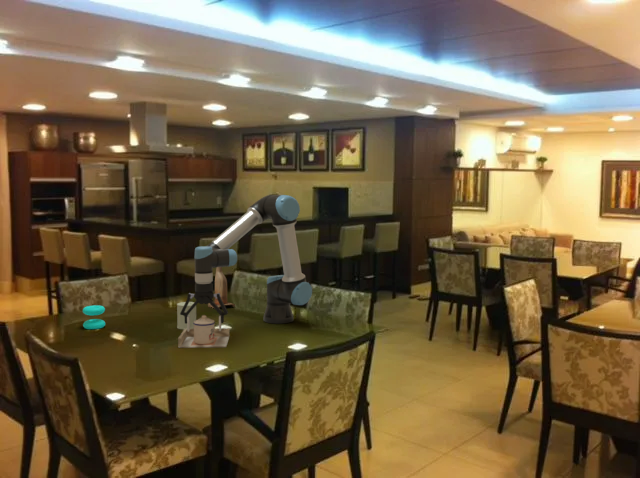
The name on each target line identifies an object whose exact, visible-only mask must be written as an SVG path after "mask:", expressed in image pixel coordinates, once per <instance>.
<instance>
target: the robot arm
mask: <svg viewBox="0 0 640 478" xmlns="http://www.w3.org/2000/svg"><path fill="white" fill-rule="evenodd" d="M300 212H301V209H300V203H299V202H298V200H297V199H296V198H295V197H293V196H291V195H287V194H268V195H265V196H262V197H261V198H259V199H257V201H255V202H254V203H253V204H251V205H250V206H249V207H248V208H247V211H246V212H245V213H244V214H243V215H242V216H240V217H239V218H238V219H237V220H236V221H235V222H233V223H232V224H231V225H230V226H229V227H228V228H226V229H225V230H224V231H223V232H222V233H221V234H219V235H218V236H217V237H216V238H214V239H213V240H212V241H211V242H209V244H207V245H205V246H202V245H201V246H197V247H195V249H194V258H193V259H194V282H195V283H194V293H191V292H189V293H188V294H187V297H186V298H187V299H186V301H185V302H186V303H185V305H184V307H183V309H182V311H181V313H180V315H183V316H184V317H185V324H187V332H189V331H190V315H188V314H189V313H190V312H191V311H192V309H193V308H194V307H195V306H196V307H197V305H198V304H200V305H208V304H209V303H210V304H211V305H212V306H213V307H214V310H215V311H216V312H217V313H218V328H219V331H221V328H222V324H223V323H224V322H225V316H226V315H228V313H229V312H228V309H227V307H226V305H224V303H223V301H222V299H221V297H220V293H218V294H215V293H214V291H213V290H214V287H213V285H214V284H213V281H214V280H213V279H214V277H213V276H214V275H213V268H214V269H215V268H216V269H217V267H222V268H227V267H232V266H235V265H236V264H237V262H238V255H237V252H236V251H235V250H234V249H233V248H231V247H232V246H234V245H235V244H236V243H237V242H238V241H239V240H241V238H243V237H244V236H245V235H246V234H247V233H249V232H250V231H251V230H252V229H253V228H254V227H256V226H257V225H260V224H261V225H262V223H263V222H265V221H267V220H269V219H270V220H271V221H272V223H271V224H272V226H273V227H275V229H276V233H277V239H278V244H279V252H280V258H281V259H280V260H281V263H282V269H283V274H280V275H279V274H278V275H270V276H268V277H267V280H266V307H265V311H264V314H263V322H265V323H268V324H288V323H292V322H294V314H293V310H292V308H291V305H294V306H304V305H306V304H307V303H308V302H309V301H310V299H311V297H312V294H313V287H312V285H311V284H310V283H309V281H308V282H307V279H306V275H305V274H304V273H302V266H301V260H300V253H299V247H298V241H297V236H296V235H297V234H296V228H295V225H296V224H297V221H298V220H297V218H298V217H299V214H300ZM230 248H231V249H230ZM193 298H194V301H195V303H194V304H193V305H192V306H191V307H190V308H189V310H188V311H187V312H185V310H186V308H187V306H188V303H189V302H191V299H193ZM215 298H216V299H218V302H219V304H220V307H218V306H217V305H216V304H215V303H214V302H215V300H213V299H215Z"/></svg>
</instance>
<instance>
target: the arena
mask: <svg viewBox="0 0 640 478" xmlns="http://www.w3.org/2000/svg"><path fill="white" fill-rule="evenodd" d="M229 339H230V328H226V327H225V328H224V327H223V328H222V327H221V331H219V327H218V328H216V327H214V342H213V343H210V344H196V343H195V342H194V329H190V331H189V332H187V329H182V332H181V333H180V335H179V336H178V338H177V340H178V341H177V344H178V345H177V346H178V347H177V348H180V349H181V348H185V349H188V348H189V349H190V348H195V349H196V348H227V345H228V342H229Z"/></svg>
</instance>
